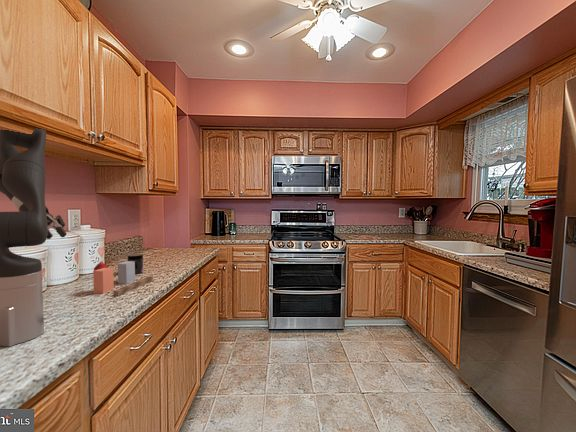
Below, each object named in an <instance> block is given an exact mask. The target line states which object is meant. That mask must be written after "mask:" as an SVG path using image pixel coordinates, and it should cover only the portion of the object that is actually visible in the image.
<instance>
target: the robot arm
mask: <svg viewBox="0 0 576 432" xmlns="http://www.w3.org/2000/svg"><path fill="white" fill-rule="evenodd" d="M46 142H47V131H46V129H45V130H43V129H38V128H36V129H34V131H33V133H32V134H25V133H20V132H14V131H9V130H2V129H1V130H0V192H1V193H2V194H3V195H5V197H7V198H8V199H9V200H10V201H11V202H12V204H13V206H14V207H15V209H16V210H17V211H0V347H12V346H14V345H18V344H22V343H26V342H28V341H30V340H34V339H36V338H37V337H39V336H41V335H43V333H44V332H45V321H44V319H45V318H44V295H43V294H44V291H43V290H44V289H43V288H44V287H43V263H42V261H41V259H38V258H35V257H29V256H22V255H19V254H16V253H14V252H12V251H11V250H10V249H9V248H22V247H24V248H25V247H34V246H41V245H43V244H44V243H45V242H46V241H47V240H51V239H52V237H53V236H54V235H53V233H52V232H51V231H50V230H49V228H50V229H53V230H54V231H55V232H56V233H57V234H58V235H59V236H60V237H61V238H65V237H66V236H67V232H66V230H65V229H64V227H65V226H66V223H65V221H64V219H63V218H62V216H61V215H59V214H58V215H56V216H55V215H53V214H51V213H50V212H49V209H48V207H47V206H46V200H45V199H46V197H45V196H46V195H45V194H46V168H45V166H46V165H45V151H46ZM17 147H18V148H23V149H25V150H24V151H20V150H19V149H18V148H17ZM26 149H27V150H26ZM48 227H49V228H48Z"/></svg>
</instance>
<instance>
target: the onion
mask: <svg viewBox="0 0 576 432" xmlns="http://www.w3.org/2000/svg"><path fill="white" fill-rule="evenodd" d="M102 268H109V266H108V264H106V263H104V260H102V261H99V263H98V264H96V266H95V267H94V268H93V271H95V270H98V269H102Z"/></svg>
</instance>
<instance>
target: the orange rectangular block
mask: <svg viewBox="0 0 576 432" xmlns="http://www.w3.org/2000/svg"><path fill="white" fill-rule="evenodd" d="M92 273H93V274H92V275H93V276H92V277H93V281H92V283H93V294H106V293H109V292H110V291H111V292H112V291H115V290H114V286H115V285H114V268H113V267H108V268H102V269H98V270H95V271H94V270H93V271H92Z"/></svg>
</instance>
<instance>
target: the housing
mask: <svg viewBox="0 0 576 432" xmlns="http://www.w3.org/2000/svg"><path fill="white" fill-rule="evenodd" d="M153 278H154V277H153V276H146V277H144V278H141V279H139V280H135V281H133V282H131V283H128V284H126V285H125V286H121V287H120V288H117V289H116V290H112V291H113V292H112V293H113V294H112V296H113V297H119V296H122V295H124V294H126V293H129V292H132V291H133V290H136V289H137V288H140V287H142V286H144V285H146V284H149V283H150V282H151V283H152V281H153V282H154V279H153Z"/></svg>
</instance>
